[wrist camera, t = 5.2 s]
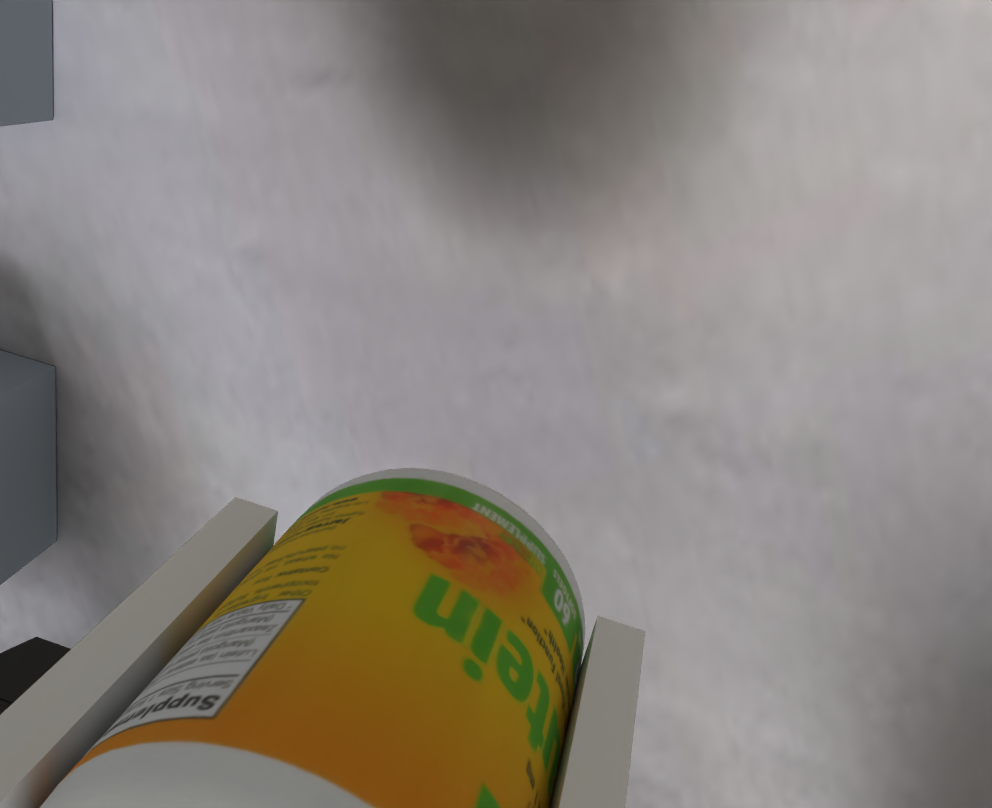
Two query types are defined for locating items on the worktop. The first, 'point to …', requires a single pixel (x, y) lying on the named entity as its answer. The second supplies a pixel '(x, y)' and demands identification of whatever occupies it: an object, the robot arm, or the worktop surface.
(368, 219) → the worktop surface
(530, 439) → the worktop surface
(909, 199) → the worktop surface
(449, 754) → the supplement bottle
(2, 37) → the notched board
